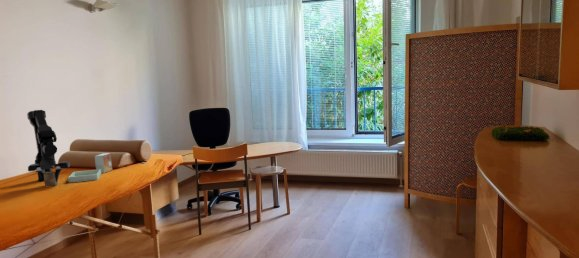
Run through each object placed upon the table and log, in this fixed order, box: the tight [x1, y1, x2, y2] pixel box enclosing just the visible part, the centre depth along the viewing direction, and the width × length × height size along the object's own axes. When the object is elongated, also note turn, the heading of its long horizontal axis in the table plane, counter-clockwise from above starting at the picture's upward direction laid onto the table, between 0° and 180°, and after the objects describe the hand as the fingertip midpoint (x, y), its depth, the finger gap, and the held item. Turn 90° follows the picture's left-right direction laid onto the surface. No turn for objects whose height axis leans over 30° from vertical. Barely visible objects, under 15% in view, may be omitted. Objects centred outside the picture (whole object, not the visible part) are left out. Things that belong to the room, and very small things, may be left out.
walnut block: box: [43, 170, 59, 188], centre depth 226 cm, size 5×5×7 cm
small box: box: [94, 152, 113, 174], centre depth 255 cm, size 8×6×10 cm
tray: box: [67, 169, 102, 184], centre depth 239 cm, size 14×14×3 cm
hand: (51, 182), depth 226 cm, fingers closed on walnut block, 5 cm apart
